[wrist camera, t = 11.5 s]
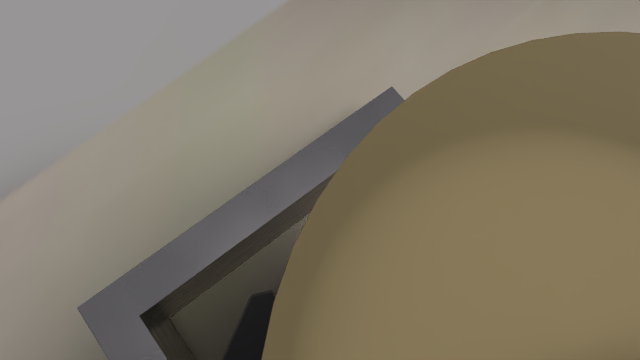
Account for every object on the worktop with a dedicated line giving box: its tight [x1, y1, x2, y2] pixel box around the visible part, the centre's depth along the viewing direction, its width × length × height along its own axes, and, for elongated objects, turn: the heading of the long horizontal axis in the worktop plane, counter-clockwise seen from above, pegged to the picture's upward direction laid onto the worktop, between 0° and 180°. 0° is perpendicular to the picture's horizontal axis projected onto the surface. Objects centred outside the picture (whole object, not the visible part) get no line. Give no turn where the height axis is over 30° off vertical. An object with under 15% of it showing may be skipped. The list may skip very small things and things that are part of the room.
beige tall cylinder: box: [262, 32, 640, 360], centre depth 8 cm, size 4×4×13 cm
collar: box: [77, 87, 405, 360], centre depth 14 cm, size 11×11×3 cm
